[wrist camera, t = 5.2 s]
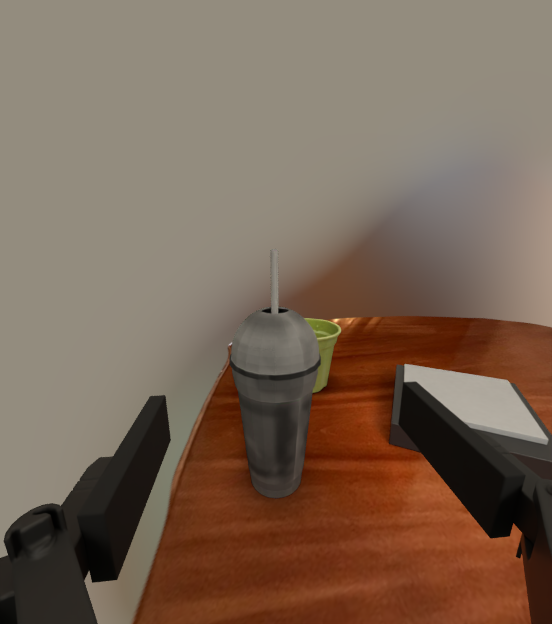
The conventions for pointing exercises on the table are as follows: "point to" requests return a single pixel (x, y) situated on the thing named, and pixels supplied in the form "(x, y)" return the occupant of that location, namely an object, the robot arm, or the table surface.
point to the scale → (481, 412)
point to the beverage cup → (275, 391)
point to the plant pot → (324, 347)
